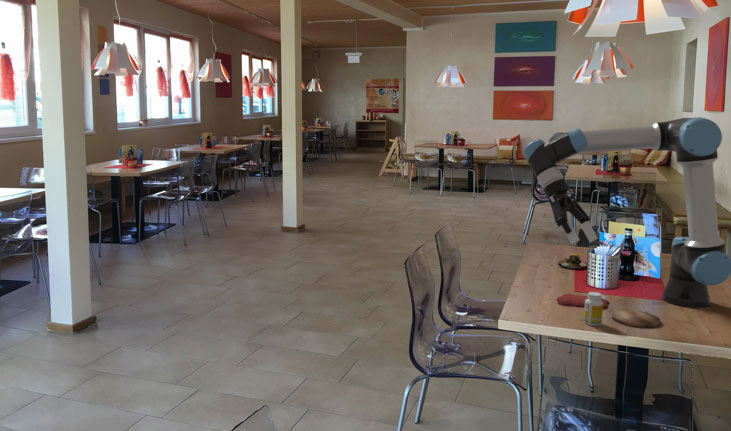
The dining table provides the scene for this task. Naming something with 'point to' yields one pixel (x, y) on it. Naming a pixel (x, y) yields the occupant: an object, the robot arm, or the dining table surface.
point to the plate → (636, 318)
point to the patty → (577, 301)
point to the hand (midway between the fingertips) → (585, 241)
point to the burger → (573, 262)
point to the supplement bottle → (593, 309)
